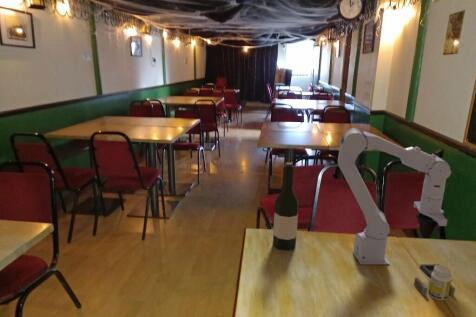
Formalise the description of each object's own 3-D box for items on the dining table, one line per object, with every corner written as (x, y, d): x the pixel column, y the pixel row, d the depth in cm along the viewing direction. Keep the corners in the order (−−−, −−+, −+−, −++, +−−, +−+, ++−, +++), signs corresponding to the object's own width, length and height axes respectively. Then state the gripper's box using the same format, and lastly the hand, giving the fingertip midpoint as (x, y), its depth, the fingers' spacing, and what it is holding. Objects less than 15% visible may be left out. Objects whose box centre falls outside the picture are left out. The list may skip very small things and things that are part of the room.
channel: (423, 295, 95) (424, 288, 94) (413, 284, 100) (415, 277, 99) (453, 295, 95) (455, 288, 94) (442, 284, 100) (444, 277, 99)
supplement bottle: (442, 290, 97) (447, 264, 95) (451, 301, 93) (456, 274, 91) (425, 289, 98) (429, 263, 96) (432, 300, 93) (437, 272, 91)
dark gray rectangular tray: (430, 278, 103) (431, 275, 102) (419, 267, 109) (420, 264, 108) (450, 278, 103) (450, 275, 103) (438, 267, 109) (438, 264, 108)
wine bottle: (270, 239, 125) (274, 160, 117) (292, 238, 126) (297, 160, 118) (275, 251, 117) (279, 167, 109) (299, 250, 118) (305, 166, 110)
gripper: (460, 205, 97) (452, 248, 101) (431, 188, 111) (424, 227, 115) (436, 205, 97) (428, 248, 100) (409, 188, 111) (404, 226, 114)
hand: (425, 237), depth 108 cm, fingers closed
